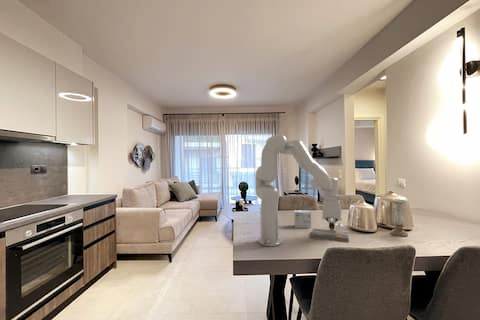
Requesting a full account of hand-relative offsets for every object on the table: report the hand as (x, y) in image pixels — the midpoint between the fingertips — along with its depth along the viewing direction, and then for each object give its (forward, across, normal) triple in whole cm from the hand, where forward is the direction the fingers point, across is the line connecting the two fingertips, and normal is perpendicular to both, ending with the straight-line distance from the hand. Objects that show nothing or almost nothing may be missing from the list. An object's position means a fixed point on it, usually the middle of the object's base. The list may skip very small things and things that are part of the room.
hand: (331, 229), depth 134 cm
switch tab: (+2, -4, 0) cm, 5 cm away
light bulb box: (+4, +19, -15) cm, 25 cm away
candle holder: (+4, -37, -20) cm, 42 cm away
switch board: (+4, +1, 0) cm, 4 cm away
